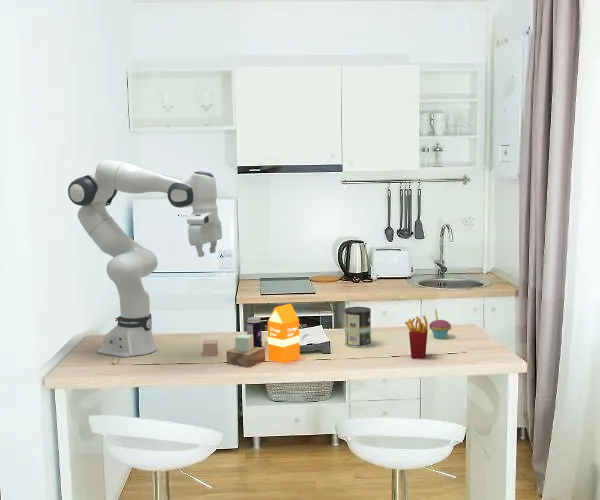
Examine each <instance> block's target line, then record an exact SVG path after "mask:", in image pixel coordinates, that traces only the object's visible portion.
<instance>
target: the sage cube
mask: <svg viewBox="0 0 600 500" xmlns="http://www.w3.org/2000/svg"><path fill="white" fill-rule="evenodd" d="M234 340H235V341H234V342H235V348H236V351H242V352H249V351H251V350H252V349H253V348H254V344H253V335H247V334H243V333H242V334H238V335H237V336H235V338H234Z"/></svg>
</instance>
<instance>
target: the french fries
mask: <svg viewBox="0 0 600 500" xmlns="http://www.w3.org/2000/svg"><path fill="white" fill-rule="evenodd" d="M422 318H423V321H424V322H422V319H421V318H420V317H419V316H416V317H415V318H414V317H413V318H412V319H411V318H409V319H408V321H405V322H404V324H405V325H406V327H407V328H408V330H409V332H408V337H409V338H408V339H409V346H410V347H409V349H410V358H411V359H416V360H419V359H420V360H425V359H426V355H427V353H426V352H427V344H428V343H427V342H428V331H429V330H428V329H429V328H428V326H429V324H428V321H427V320H428V319H427V317H426V316H425V315H423V316H422ZM414 322H415V323H414Z"/></svg>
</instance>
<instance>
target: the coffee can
mask: <svg viewBox="0 0 600 500" xmlns="http://www.w3.org/2000/svg"><path fill="white" fill-rule="evenodd" d="M371 312H372V309H371V308H369V307H367V306H349V307H346V308H344V338H345V339H344V343H345V344H344V345H345V346H346V347H348V348H353V349H354V348H355V349H361V348H368V347H370V346H371V345H372V331H371V330H372V328H371V327H372V325H371V321H372V320H371V318H372V317H371V315H372V314H371Z"/></svg>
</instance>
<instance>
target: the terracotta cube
mask: <svg viewBox="0 0 600 500" xmlns="http://www.w3.org/2000/svg"><path fill="white" fill-rule="evenodd" d="M218 347H219V345H218V339H212V340H211V339H209V340H206V339H205V340H204V341H203V342H202V349H203V350H202V352H203V357H204V356H205V357H206V358H207V357H218V353H219V348H218Z"/></svg>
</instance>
